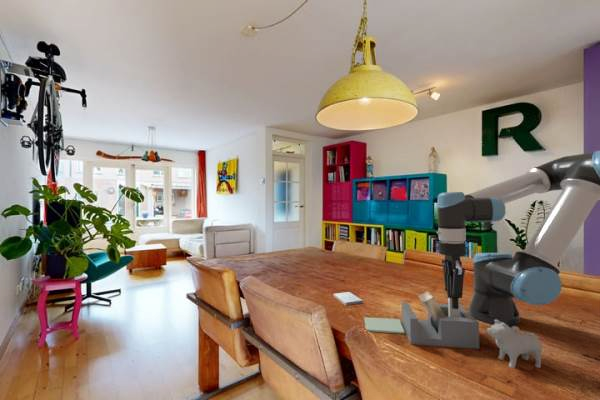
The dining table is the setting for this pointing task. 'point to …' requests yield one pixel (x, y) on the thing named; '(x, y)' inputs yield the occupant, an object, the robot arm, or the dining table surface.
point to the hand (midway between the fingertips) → (454, 317)
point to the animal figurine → (515, 343)
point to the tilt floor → (428, 310)
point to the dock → (441, 328)
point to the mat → (384, 325)
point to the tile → (432, 305)
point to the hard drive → (348, 298)
